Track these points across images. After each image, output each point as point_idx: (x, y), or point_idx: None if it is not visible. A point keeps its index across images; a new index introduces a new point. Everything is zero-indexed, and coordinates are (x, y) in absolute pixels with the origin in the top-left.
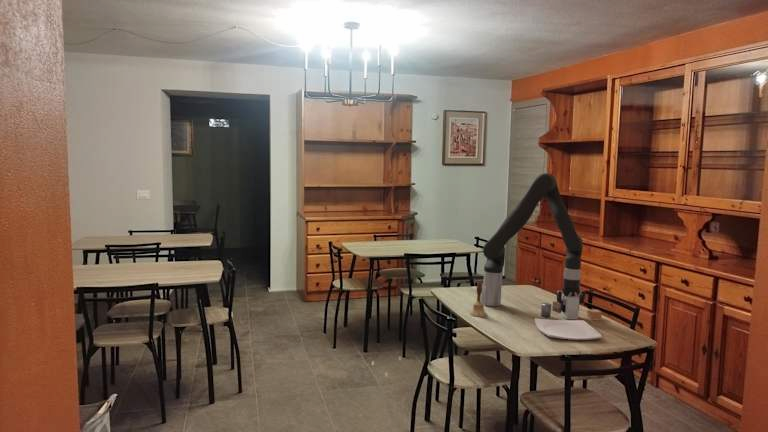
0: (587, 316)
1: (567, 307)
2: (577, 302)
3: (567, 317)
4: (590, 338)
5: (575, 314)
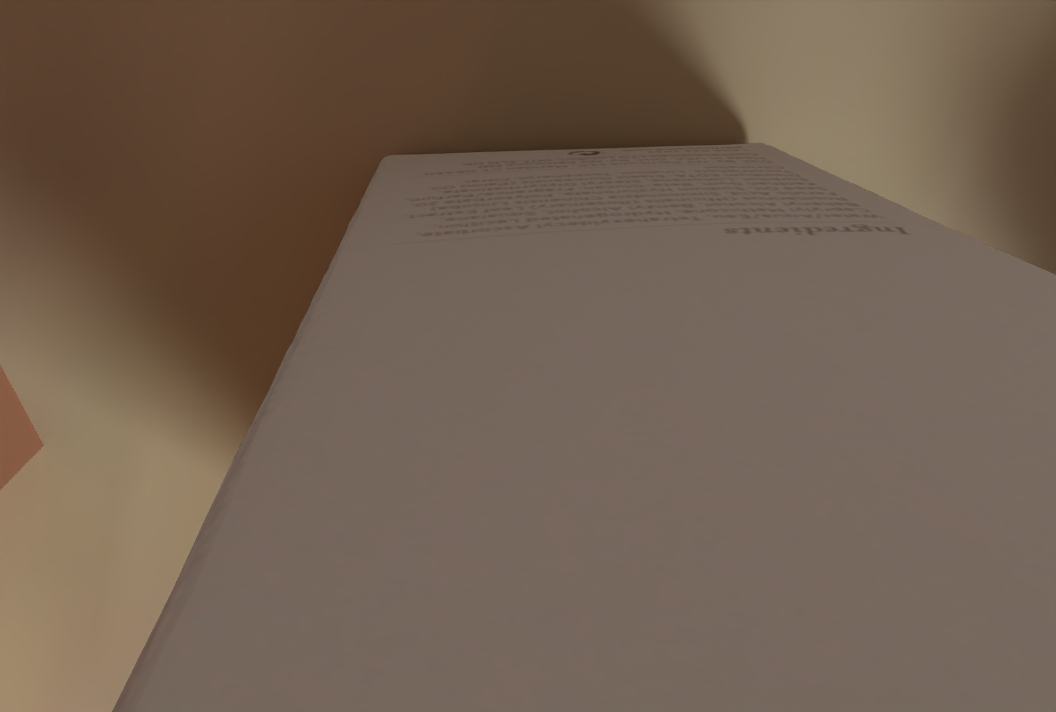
0: (6, 444)
1: (1014, 259)
2: (378, 487)
3: (757, 148)
4: None
5: (484, 182)
